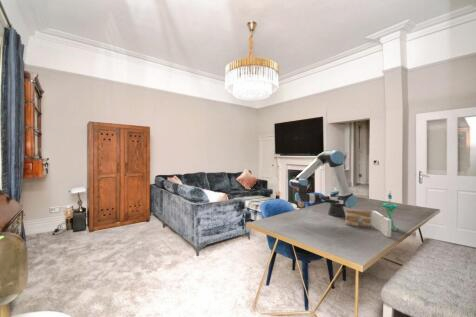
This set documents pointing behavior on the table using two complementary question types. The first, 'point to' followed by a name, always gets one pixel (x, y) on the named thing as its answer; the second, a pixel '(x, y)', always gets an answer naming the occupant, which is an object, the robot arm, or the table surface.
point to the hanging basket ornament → (390, 211)
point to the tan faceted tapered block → (355, 214)
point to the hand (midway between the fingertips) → (340, 200)
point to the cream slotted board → (381, 223)
